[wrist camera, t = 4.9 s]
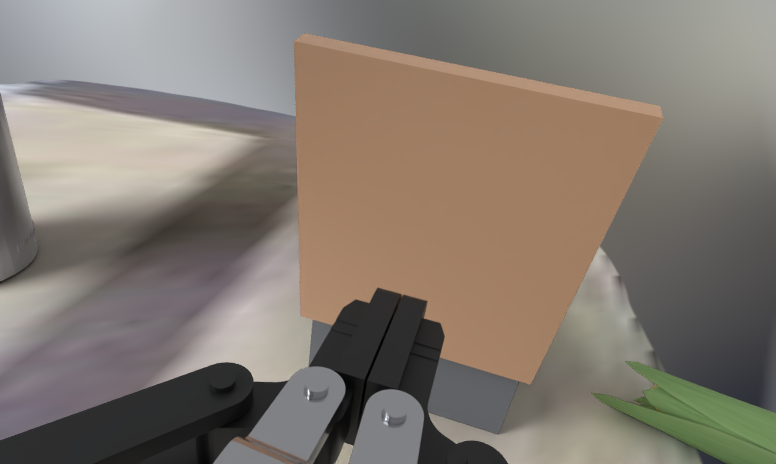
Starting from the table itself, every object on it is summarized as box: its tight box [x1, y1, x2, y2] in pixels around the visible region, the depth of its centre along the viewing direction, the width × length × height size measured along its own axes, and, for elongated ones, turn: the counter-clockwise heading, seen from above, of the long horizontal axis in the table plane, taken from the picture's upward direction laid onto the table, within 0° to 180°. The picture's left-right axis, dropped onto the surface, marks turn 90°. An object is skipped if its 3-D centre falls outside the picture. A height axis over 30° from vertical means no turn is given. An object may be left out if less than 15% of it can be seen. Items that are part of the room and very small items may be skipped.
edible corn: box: [591, 361, 776, 464], centre depth 32 cm, size 5×20×5 cm
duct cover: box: [294, 33, 663, 385], centre depth 24 cm, size 14×16×1 cm
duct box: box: [309, 320, 519, 434], centre depth 38 cm, size 13×16×6 cm
